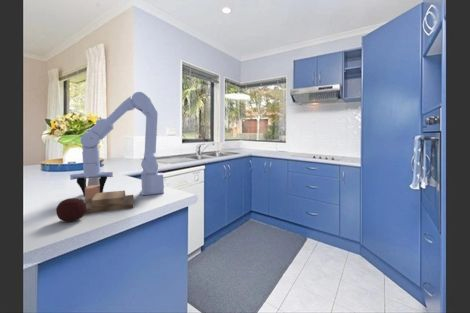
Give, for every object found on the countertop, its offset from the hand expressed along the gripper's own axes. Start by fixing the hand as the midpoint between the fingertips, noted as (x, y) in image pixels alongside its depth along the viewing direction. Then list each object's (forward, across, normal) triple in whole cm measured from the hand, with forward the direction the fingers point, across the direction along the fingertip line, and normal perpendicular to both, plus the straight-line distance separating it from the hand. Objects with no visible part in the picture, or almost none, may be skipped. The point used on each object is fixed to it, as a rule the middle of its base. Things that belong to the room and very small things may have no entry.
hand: (93, 195), depth 92 cm
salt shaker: (+2, +1, -10) cm, 10 cm away
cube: (+1, 0, 0) cm, 1 cm away
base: (+1, -7, +12) cm, 14 cm away
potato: (+2, +2, +23) cm, 24 cm away
